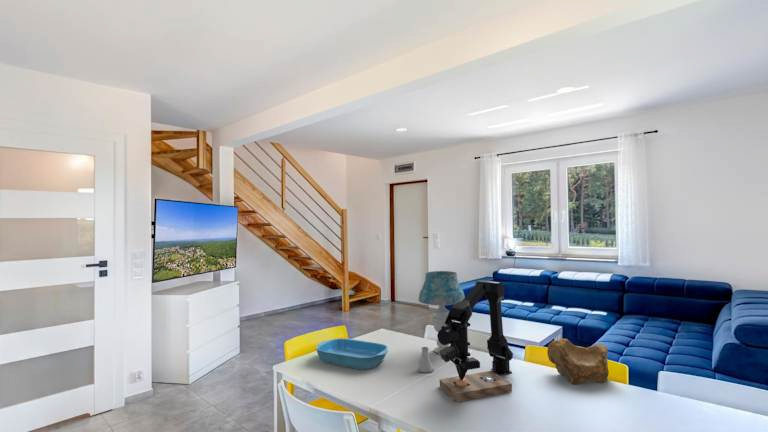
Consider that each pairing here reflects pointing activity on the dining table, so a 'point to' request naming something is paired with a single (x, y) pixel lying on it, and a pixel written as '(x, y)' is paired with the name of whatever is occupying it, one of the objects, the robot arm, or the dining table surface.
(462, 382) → the peach rounded cylinder
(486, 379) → the steel plunger
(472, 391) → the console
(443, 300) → the table lamp
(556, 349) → the rough brown rock
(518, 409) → the dining table surface
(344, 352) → the casserole dish
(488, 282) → the robot arm
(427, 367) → the flask
